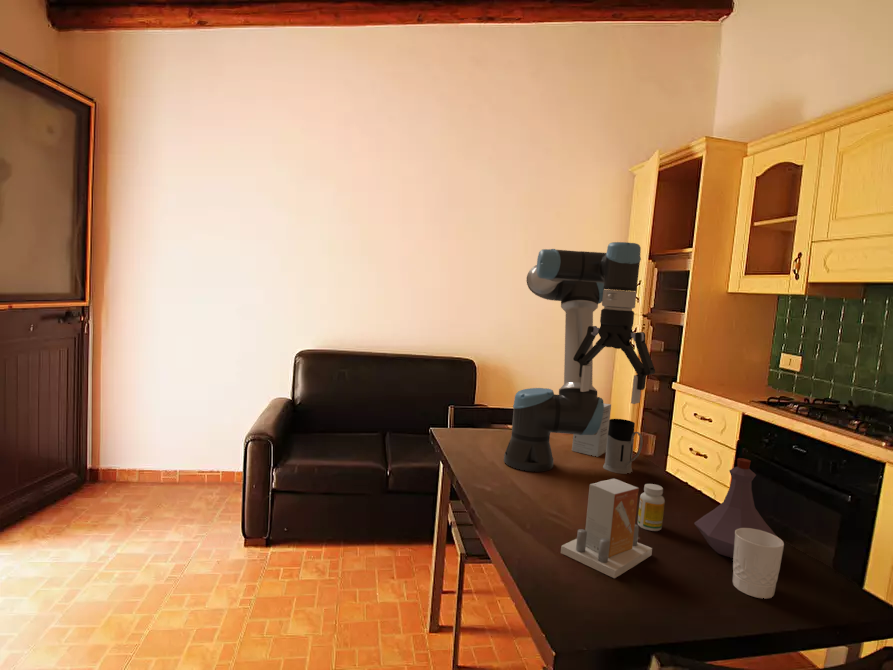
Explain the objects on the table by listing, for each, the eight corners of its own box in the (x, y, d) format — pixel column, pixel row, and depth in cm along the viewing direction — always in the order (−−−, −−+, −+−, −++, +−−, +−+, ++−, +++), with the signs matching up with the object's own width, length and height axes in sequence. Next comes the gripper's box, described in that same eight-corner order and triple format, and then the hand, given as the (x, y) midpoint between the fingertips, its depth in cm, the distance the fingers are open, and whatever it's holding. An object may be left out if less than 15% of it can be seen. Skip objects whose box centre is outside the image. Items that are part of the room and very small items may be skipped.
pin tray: (560, 552, 109) (563, 526, 108) (599, 533, 119) (602, 509, 118) (614, 578, 100) (617, 550, 100) (651, 555, 110) (654, 529, 110)
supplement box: (570, 451, 183) (575, 402, 181) (580, 445, 190) (584, 399, 189) (598, 457, 177) (603, 407, 176) (607, 451, 185) (611, 403, 184)
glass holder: (620, 463, 172) (625, 418, 171) (650, 479, 159) (655, 429, 157) (597, 464, 169) (601, 418, 168) (625, 480, 156) (630, 430, 155)
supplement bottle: (632, 523, 126) (636, 483, 125) (648, 520, 128) (652, 481, 127) (650, 533, 121) (654, 492, 120) (667, 529, 123) (671, 489, 123)
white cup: (720, 577, 103) (726, 527, 102) (758, 577, 104) (764, 528, 103) (746, 600, 95) (752, 546, 95) (787, 601, 96) (794, 547, 95)
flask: (741, 575, 104) (753, 476, 103) (675, 538, 119) (684, 450, 118) (796, 563, 111) (808, 469, 109) (727, 529, 126) (736, 446, 124)
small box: (608, 559, 104) (614, 494, 103) (582, 545, 109) (588, 483, 108) (633, 549, 109) (639, 487, 108) (607, 536, 114) (613, 477, 113)
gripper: (564, 304, 133) (556, 388, 135) (661, 314, 115) (651, 410, 117) (581, 304, 138) (573, 385, 140) (677, 313, 120) (666, 406, 122)
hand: (608, 397), depth 129 cm, fingers open, 13 cm apart
